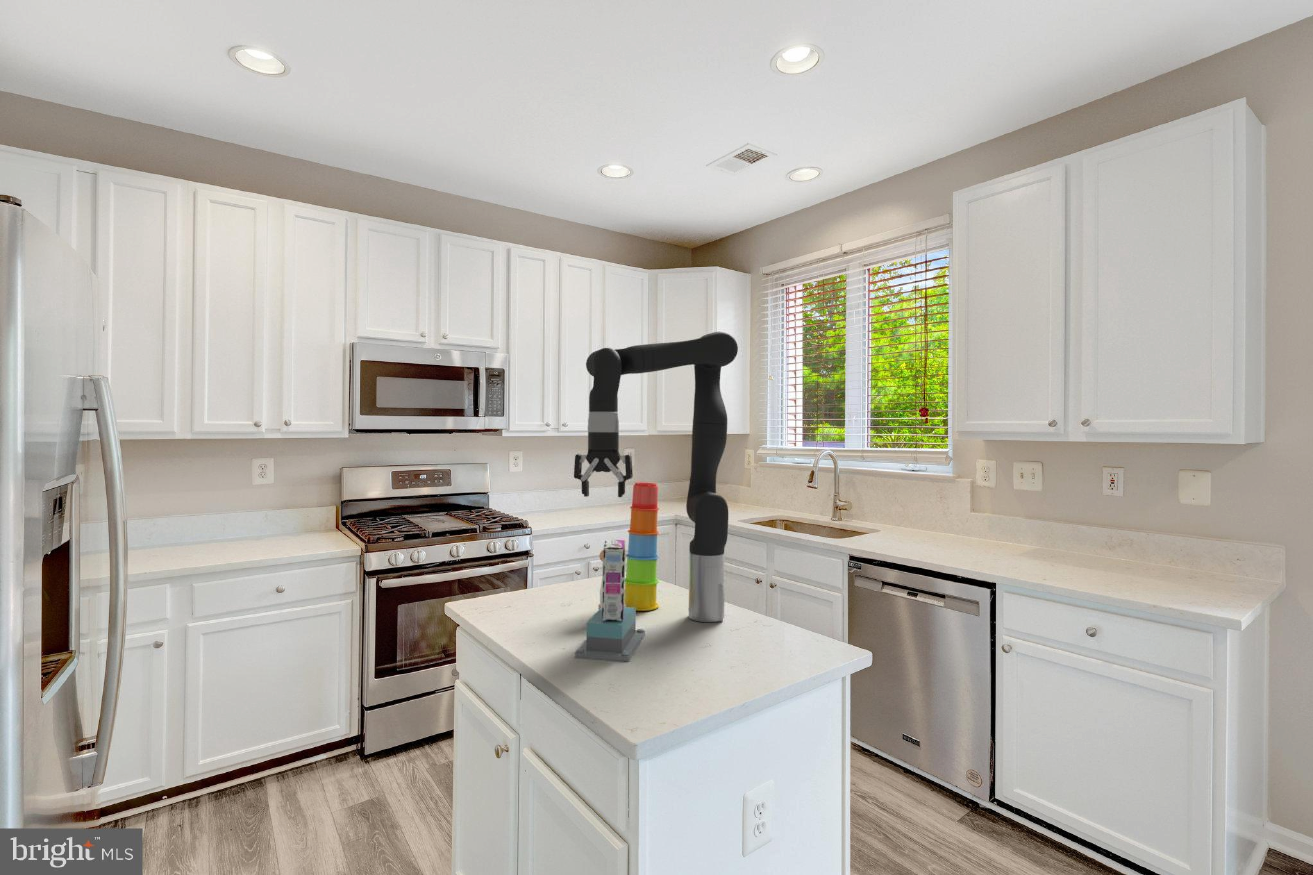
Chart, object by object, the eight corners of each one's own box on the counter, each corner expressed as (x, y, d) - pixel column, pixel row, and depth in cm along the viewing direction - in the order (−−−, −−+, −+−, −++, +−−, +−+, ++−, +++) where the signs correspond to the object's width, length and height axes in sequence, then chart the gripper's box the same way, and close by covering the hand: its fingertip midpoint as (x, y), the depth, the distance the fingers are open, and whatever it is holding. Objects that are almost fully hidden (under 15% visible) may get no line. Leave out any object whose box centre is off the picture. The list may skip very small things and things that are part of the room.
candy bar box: (624, 622, 138) (625, 547, 138) (601, 622, 138) (602, 547, 137) (624, 607, 149) (625, 539, 149) (603, 607, 149) (604, 538, 149)
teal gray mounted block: (645, 634, 151) (645, 605, 151) (628, 661, 133) (629, 628, 133) (597, 631, 153) (597, 602, 153) (574, 657, 136) (575, 625, 136)
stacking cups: (620, 602, 179) (622, 481, 179) (656, 601, 181) (657, 481, 180) (622, 612, 169) (624, 484, 169) (660, 611, 170) (662, 484, 170)
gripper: (634, 430, 156) (634, 495, 157) (579, 430, 158) (579, 494, 159) (628, 430, 149) (628, 499, 149) (570, 430, 151) (570, 497, 151)
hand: (603, 496), depth 154 cm, fingers open, 8 cm apart
